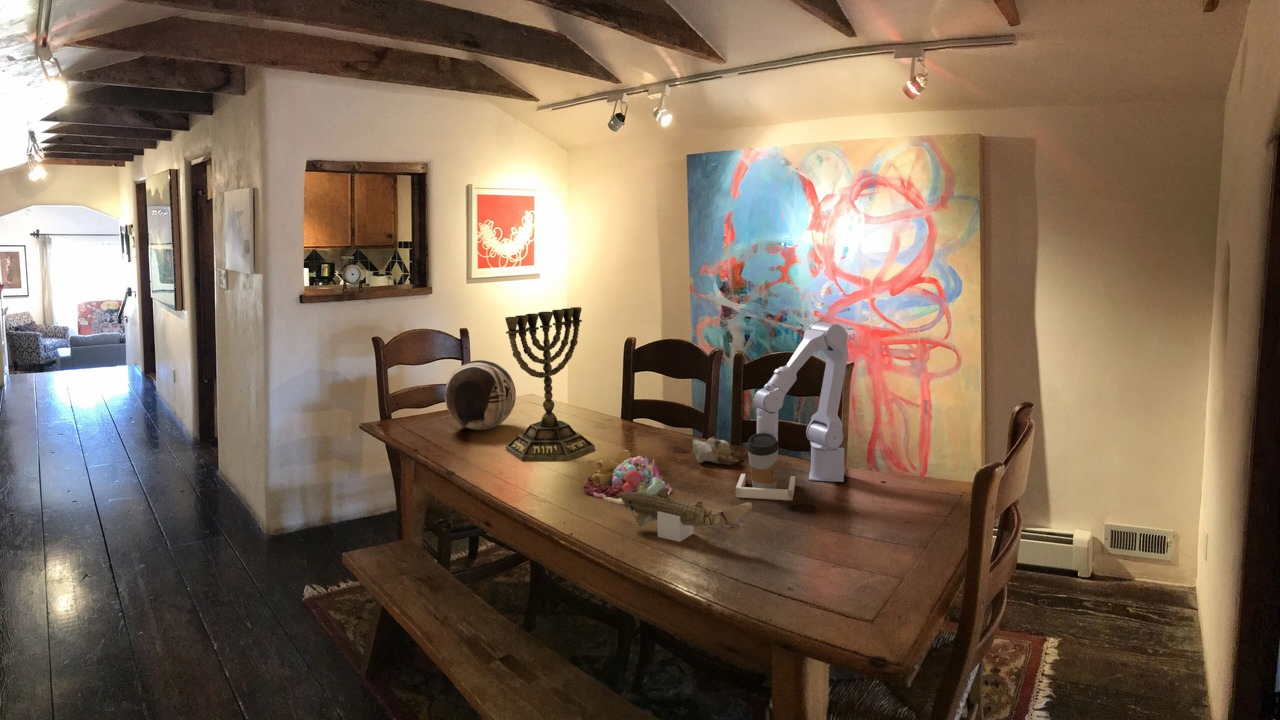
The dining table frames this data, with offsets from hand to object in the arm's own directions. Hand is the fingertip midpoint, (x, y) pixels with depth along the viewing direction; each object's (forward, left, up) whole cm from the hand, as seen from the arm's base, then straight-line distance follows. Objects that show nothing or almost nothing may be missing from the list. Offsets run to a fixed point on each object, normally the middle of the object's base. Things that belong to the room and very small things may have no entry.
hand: (766, 481), depth 227 cm
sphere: (+106, -49, -2) cm, 117 cm away
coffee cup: (0, +4, -1) cm, 4 cm away
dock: (0, +3, -2) cm, 3 cm away
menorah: (+72, -26, -2) cm, 77 cm away
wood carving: (+16, +41, -2) cm, 44 cm away
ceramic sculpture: (+17, -21, -2) cm, 27 cm away
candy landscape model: (+37, +8, -2) cm, 38 cm away
